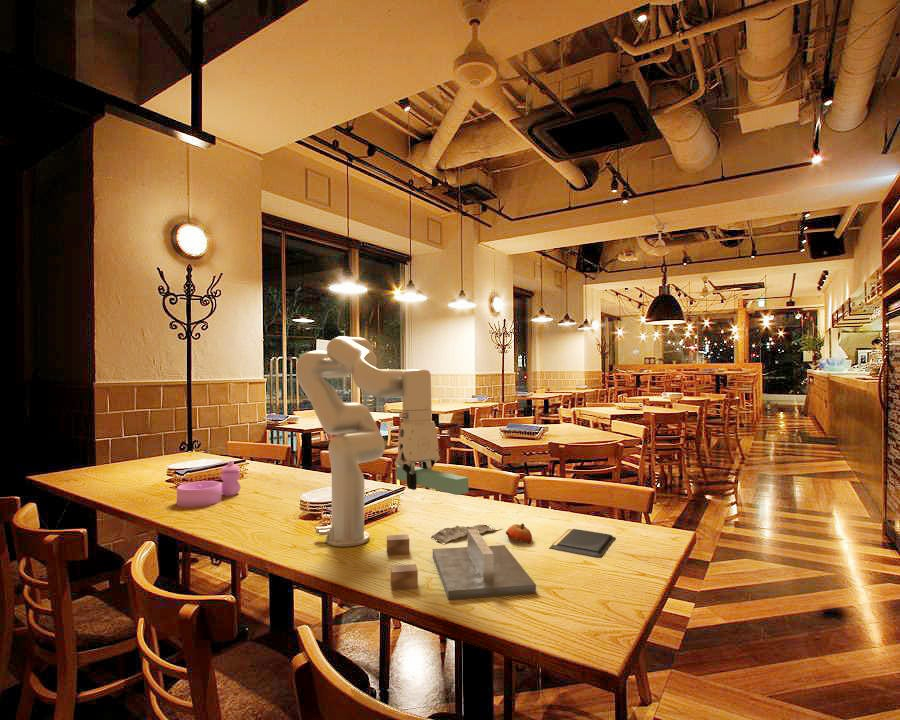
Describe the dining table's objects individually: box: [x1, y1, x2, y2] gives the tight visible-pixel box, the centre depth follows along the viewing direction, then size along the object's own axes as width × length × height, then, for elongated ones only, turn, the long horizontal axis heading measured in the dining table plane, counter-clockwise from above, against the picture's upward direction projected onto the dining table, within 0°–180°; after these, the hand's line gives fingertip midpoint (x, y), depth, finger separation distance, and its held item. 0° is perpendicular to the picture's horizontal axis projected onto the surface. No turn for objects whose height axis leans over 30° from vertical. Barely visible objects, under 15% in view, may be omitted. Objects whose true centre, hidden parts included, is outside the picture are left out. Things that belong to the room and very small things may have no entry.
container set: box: [176, 460, 241, 508], centre depth 195 cm, size 25×15×13 cm, turn 152°
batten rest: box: [386, 534, 419, 591], centre depth 127 cm, size 6×26×4 cm, turn 10°
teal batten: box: [395, 465, 469, 496], centre depth 125 cm, size 4×26×4 cm, turn 38°
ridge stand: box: [432, 529, 537, 601], centre depth 123 cm, size 20×26×8 cm
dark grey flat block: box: [548, 528, 616, 559], centre depth 146 cm, size 20×2×15 cm
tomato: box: [505, 522, 533, 544], centre depth 148 cm, size 8×7×7 cm
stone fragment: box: [430, 524, 496, 545], centre depth 154 cm, size 25×3×10 cm
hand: (418, 487), depth 129 cm, fingers closed on teal batten, 3 cm apart
